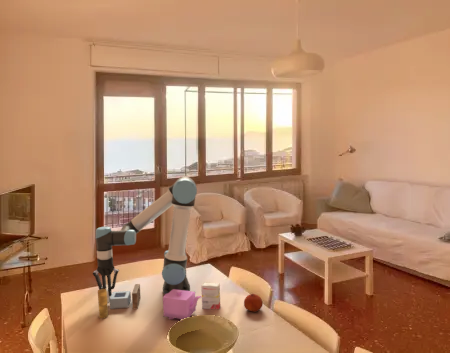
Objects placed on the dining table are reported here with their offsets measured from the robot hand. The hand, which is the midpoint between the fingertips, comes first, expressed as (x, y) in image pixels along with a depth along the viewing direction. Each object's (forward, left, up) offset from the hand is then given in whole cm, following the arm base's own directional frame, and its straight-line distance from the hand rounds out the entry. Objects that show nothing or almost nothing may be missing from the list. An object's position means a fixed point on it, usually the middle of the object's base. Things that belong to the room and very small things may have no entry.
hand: (108, 302), depth 190 cm
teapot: (-38, +18, -2) cm, 42 cm away
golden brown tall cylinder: (0, +12, -2) cm, 12 cm away
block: (-6, 0, -2) cm, 6 cm away
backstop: (-14, 0, -2) cm, 14 cm away
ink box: (-52, +10, -2) cm, 53 cm away
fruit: (-72, +17, -2) cm, 74 cm away
